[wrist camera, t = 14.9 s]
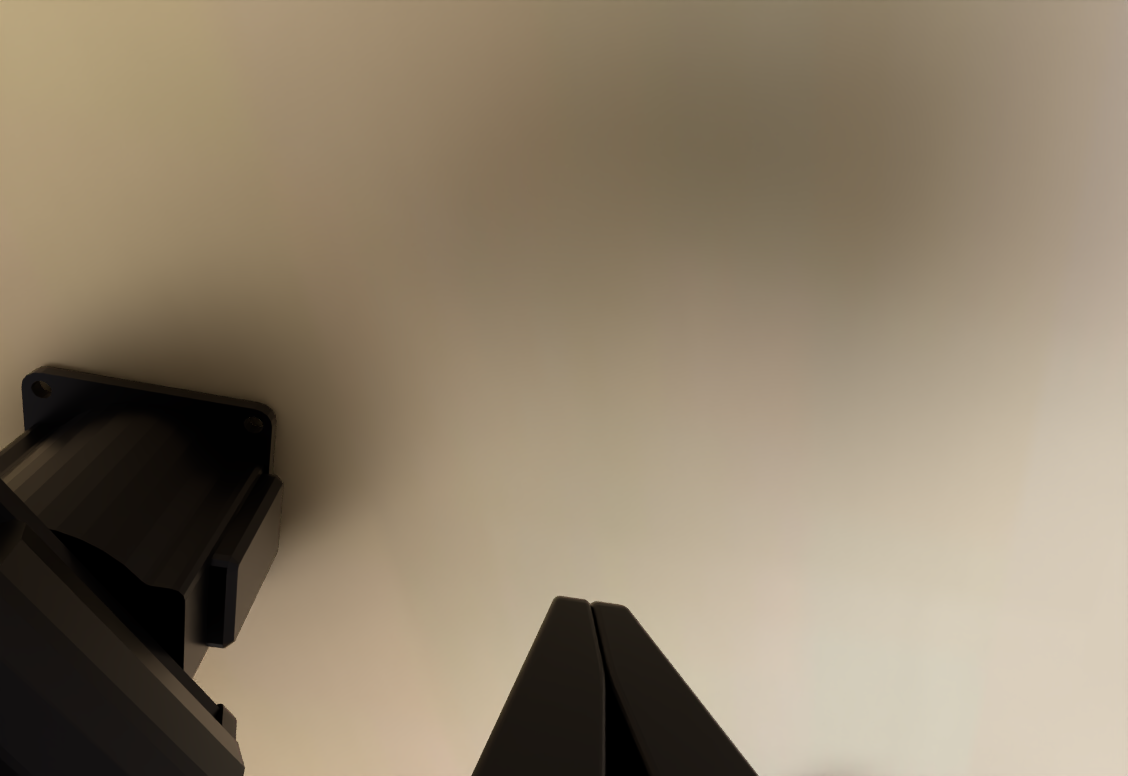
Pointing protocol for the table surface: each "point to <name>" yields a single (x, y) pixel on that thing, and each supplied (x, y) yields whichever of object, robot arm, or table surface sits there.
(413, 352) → the table surface
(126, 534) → the robot arm
